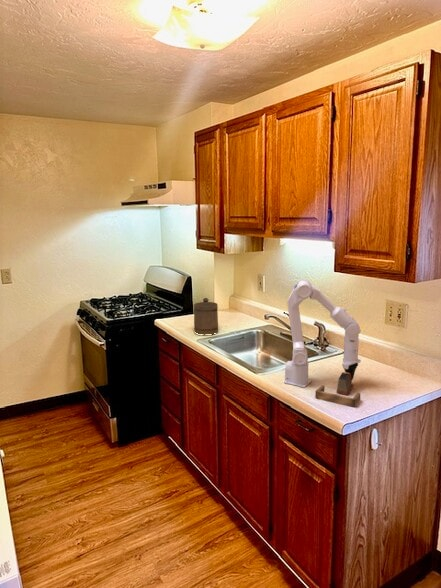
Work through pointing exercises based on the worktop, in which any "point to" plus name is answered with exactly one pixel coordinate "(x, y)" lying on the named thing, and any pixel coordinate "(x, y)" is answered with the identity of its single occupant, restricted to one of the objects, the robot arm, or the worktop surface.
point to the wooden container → (206, 317)
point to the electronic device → (344, 383)
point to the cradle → (336, 397)
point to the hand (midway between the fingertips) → (349, 379)
